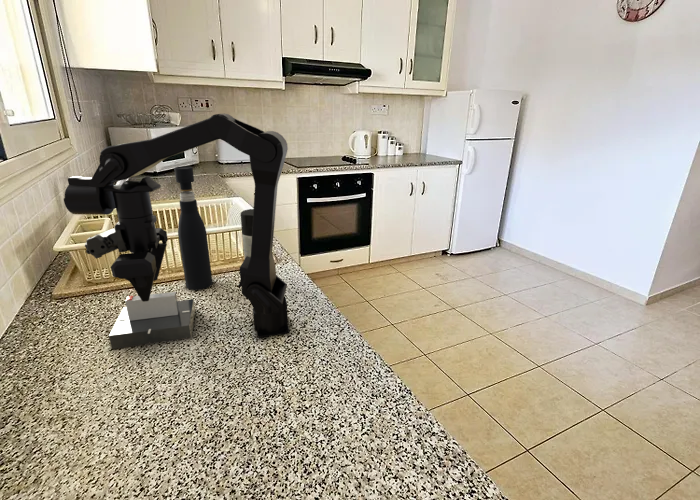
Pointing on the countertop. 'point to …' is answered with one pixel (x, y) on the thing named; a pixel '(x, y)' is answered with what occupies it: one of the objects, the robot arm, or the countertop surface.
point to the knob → (152, 306)
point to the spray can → (247, 230)
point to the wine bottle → (192, 235)
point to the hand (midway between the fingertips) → (150, 290)
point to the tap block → (153, 327)
